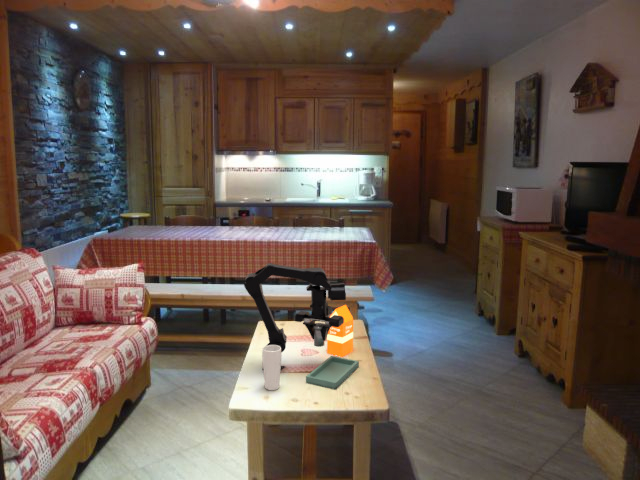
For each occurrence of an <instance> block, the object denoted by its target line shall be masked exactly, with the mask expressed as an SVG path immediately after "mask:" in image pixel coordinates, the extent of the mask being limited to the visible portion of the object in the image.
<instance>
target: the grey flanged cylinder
mask: <svg viewBox="0 0 640 480" xmlns="http://www.w3.org/2000/svg"><path fill="white" fill-rule="evenodd" d="M323 325H325V322H315V324H313V325H312V328H313V329H314V339H313V345H314V347H319V348H320V347H324V346H325V341H324V340H323Z"/></svg>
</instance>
